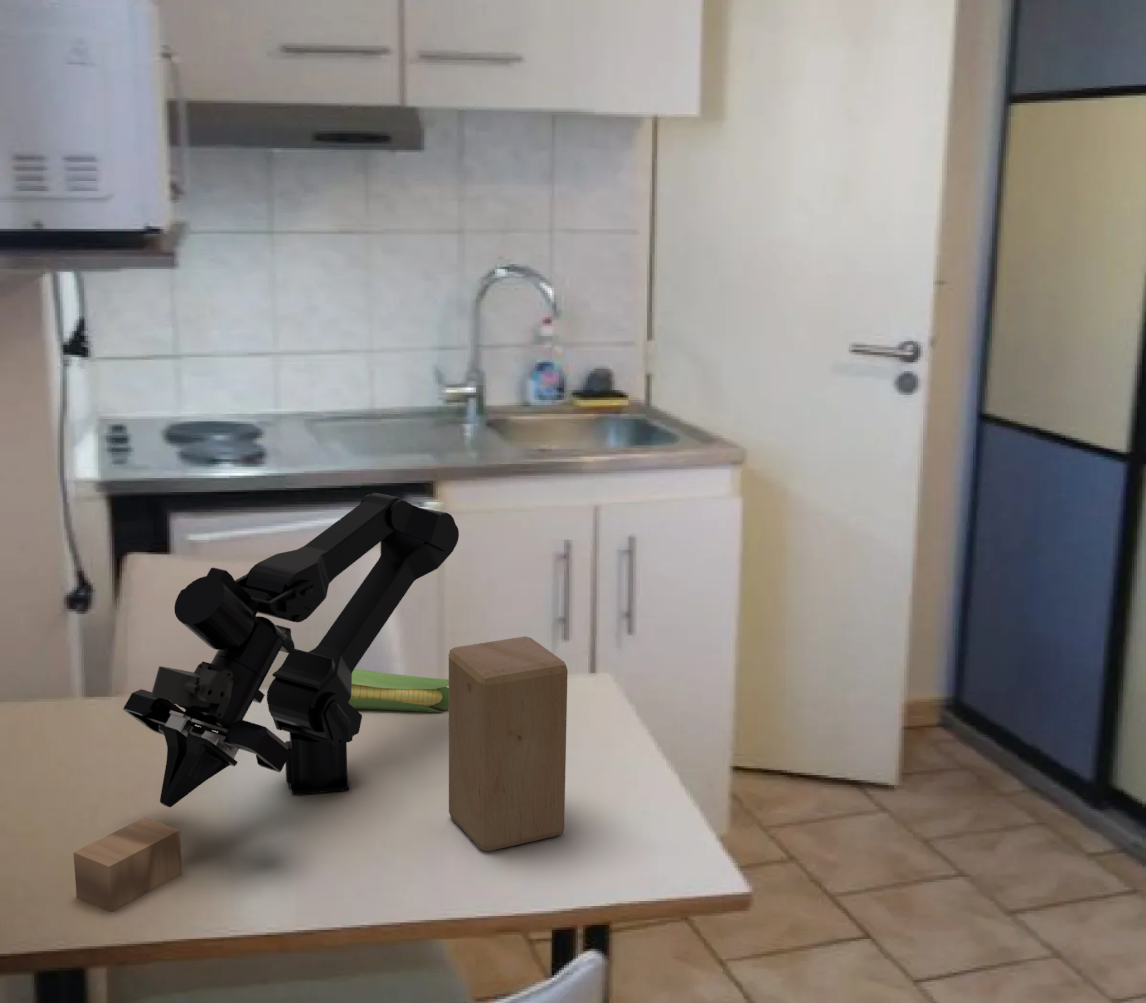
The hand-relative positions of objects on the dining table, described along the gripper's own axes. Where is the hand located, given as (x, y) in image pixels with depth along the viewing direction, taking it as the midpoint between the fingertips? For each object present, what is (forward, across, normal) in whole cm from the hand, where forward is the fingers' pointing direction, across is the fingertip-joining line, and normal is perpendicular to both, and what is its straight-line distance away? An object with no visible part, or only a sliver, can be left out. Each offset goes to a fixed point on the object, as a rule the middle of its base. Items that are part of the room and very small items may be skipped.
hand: (164, 805), depth 149 cm
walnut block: (+3, 0, +3) cm, 4 cm away
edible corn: (-27, -7, +37) cm, 46 cm away
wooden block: (-14, +24, +23) cm, 36 cm away
